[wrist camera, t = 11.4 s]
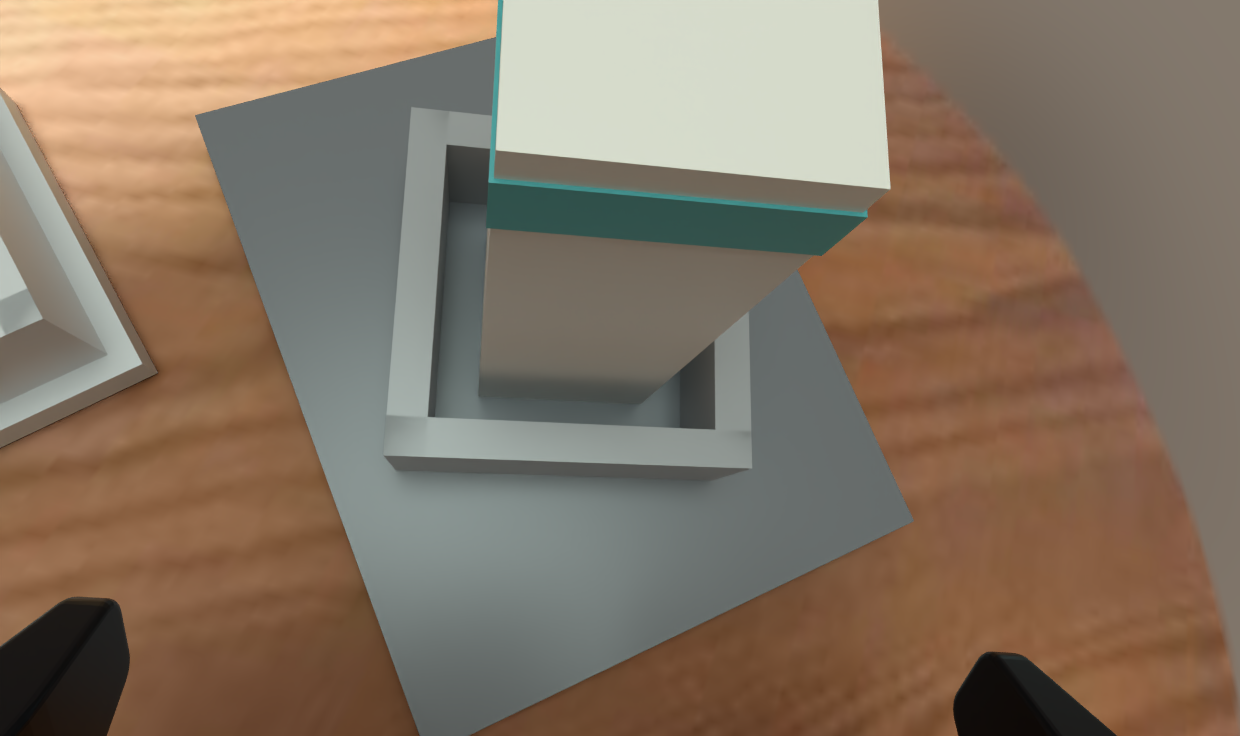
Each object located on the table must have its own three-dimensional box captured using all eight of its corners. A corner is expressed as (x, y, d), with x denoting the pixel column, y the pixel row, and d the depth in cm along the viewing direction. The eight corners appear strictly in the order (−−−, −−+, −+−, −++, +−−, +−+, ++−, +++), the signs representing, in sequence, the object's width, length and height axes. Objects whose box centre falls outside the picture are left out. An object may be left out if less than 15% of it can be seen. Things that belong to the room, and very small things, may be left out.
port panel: (885, 523, 22) (984, 515, 18) (429, 740, 19) (419, 794, 15) (657, 25, 25) (697, -88, 20) (213, 144, 21) (148, 41, 17)
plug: (642, 406, 20) (895, 194, 8) (475, 398, 20) (489, 154, 8) (643, 251, 21) (872, -141, 9) (484, 238, 21) (509, -203, 9)
